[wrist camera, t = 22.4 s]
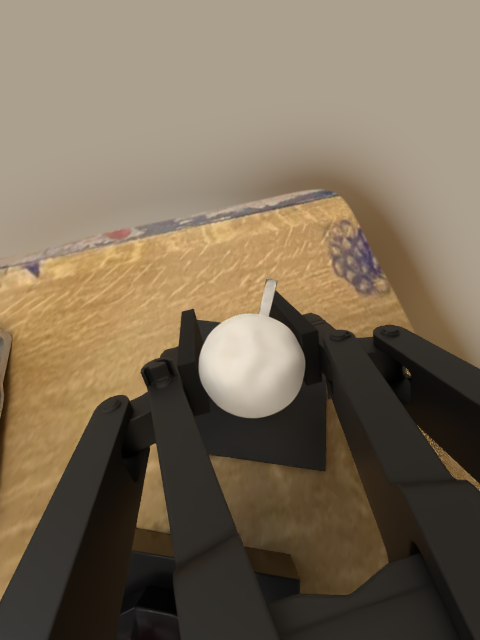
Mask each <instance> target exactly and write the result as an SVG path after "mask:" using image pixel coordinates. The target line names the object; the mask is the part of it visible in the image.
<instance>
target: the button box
mask: <svg viewBox="0 0 480 640" xmlns="http://www.w3.org/2000/svg"><path fill="white" fill-rule="evenodd" d="M244 548H245V550H246V553H247V556H248V558H249V561H250V563H251V566H252V569H253V571H254V574H255V576H256V579H257V582H258V584H259V587H260V590H261V592H262V595H263V597H264V600H265V603H266V604H269V603H272V602H275V601H278V600H281V599H284V598H286V597H289V596H292V595H295V594H300V578H299V576H298V573H297V570H296V567H295V565H294V562H293V559H292V556H291V555H290V554H285V553H279V552H273V551H267V550H261V549H255V548H249V547H244ZM175 570H176V562H175V555H174V549H173V543H172V537H171V534H167V533H161V532H155V531H149V530H143V529H137V528H136V529H135V534H134V540H133V545H132V551H131V556H130V562H129V567H128V573H127V578H126V584H125V589H124V595H123V601H122V606H121V612H120V617H119V623H118V628H117V634H116V639H115V640H181V636H180V629H179V622H178V615H177V609H176V602H175V595H174V586H173V573H174V571H175Z"/></svg>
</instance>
